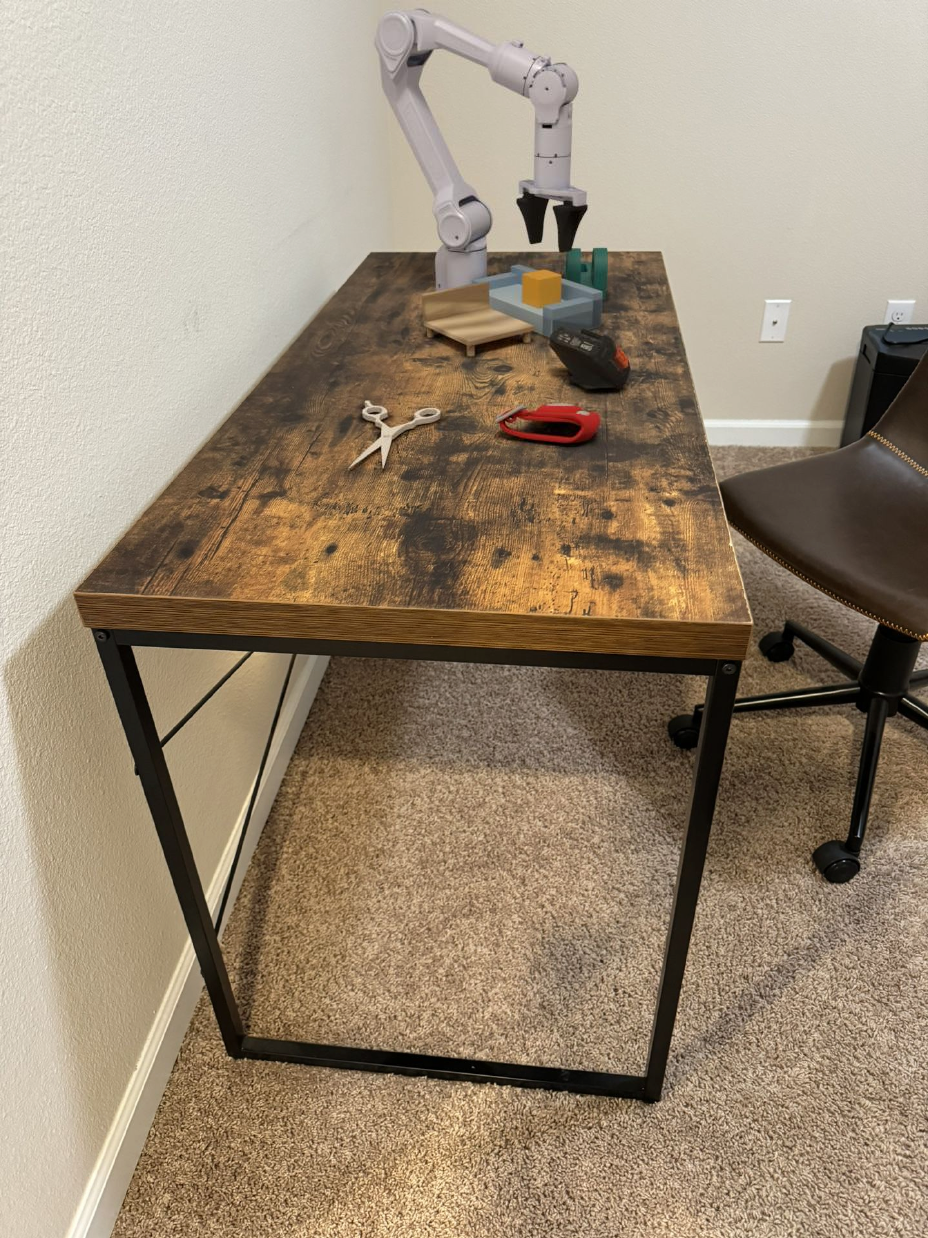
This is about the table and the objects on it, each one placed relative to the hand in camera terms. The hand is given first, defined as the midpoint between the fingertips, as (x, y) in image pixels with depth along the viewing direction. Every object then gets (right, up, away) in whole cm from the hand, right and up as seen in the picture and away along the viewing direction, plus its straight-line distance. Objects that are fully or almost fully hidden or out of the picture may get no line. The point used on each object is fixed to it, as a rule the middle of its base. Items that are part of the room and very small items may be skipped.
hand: (550, 247), depth 149 cm
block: (-2, -10, -2) cm, 10 cm away
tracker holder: (-4, -38, -37) cm, 53 cm away
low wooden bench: (-12, -17, -7) cm, 22 cm away
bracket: (+7, -1, +16) cm, 18 cm away
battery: (+3, -28, -23) cm, 37 cm away
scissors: (-24, -39, -37) cm, 59 cm away
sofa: (-2, -11, +2) cm, 11 cm away
